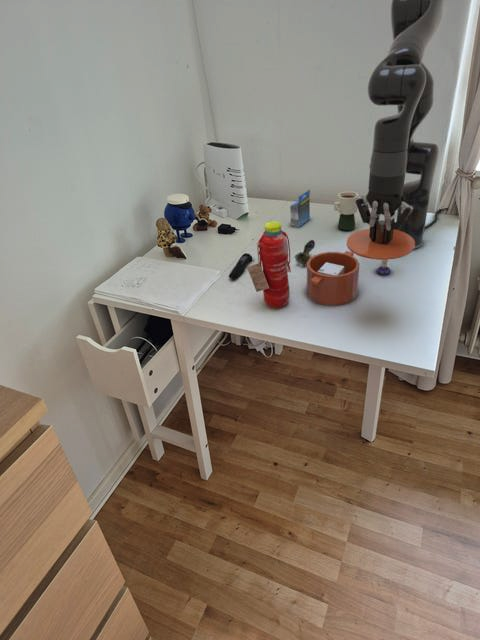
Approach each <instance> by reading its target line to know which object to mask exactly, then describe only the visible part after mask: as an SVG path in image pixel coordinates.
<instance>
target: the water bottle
mask: <svg viewBox="0 0 480 640" xmlns="http://www.w3.org/2000/svg"><path fill="white" fill-rule="evenodd" d="M256 247H257V249H256V250H257V262H258V263H255V264H252V265H250V266H247V267H246V269H247V272H248V274H249V276H250V279H251V282H252V284H253V287H254V290H255V292H256V293H258V292H261V291H263V300H264V302H265V304H267V306H269V307H270V308H275V309H279V308H282V307H285V306H286V304H287V303H288V301H289V299H290V283H289V275H288V273H291V271H292V270H291V265H290V263H291V247H290V239H289V236H288V234H287V233H286V231H284V230H282V224H281V222H279V221H277V220H273V221H268V222H266V223H265V224H264V231H263V233H262V234H261V237H260V238H259V239H258V241H257V243H256Z"/></svg>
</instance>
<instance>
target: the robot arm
mask: <svg viewBox="0 0 480 640" xmlns="http://www.w3.org/2000/svg"><path fill="white" fill-rule="evenodd" d="M444 2H445V1H444V0H391V4H390V5H391V6H390V24H391V34H392V40H393V41H392V43H391V45H390V48H389V50H388V53H387V55H386V56H385V57H384V58H383V59H382V60H381V61H380V62H379V63H378V64H377V65H376V67H375V68H374V69H373V71H372V73H371V75H370V77H369V80H368V83H367V84H368V85H367V96H368V99H369V100H370V102H371V103H372V104H373V105H376V106H379V107H380V106H386V107H387V106H396V107H397V113H396V114H393V115H389V116H384V117H382V118H379V119H378V120H376V122H375V124H374V129H373V130H374V131H373V143H372V152H371V155H370V164H369V177H368V187H367V189H368V192H367V193H366V195H365V196H364V195H361V196H359V197H360V198H358V199H357V200H356V205H357V211H358V212H359V216H360V218H361V221H362V223H363V224H367V225H368V226H369V228H370V233H369V237H370V238H371V241H375V233H376V222H377V221H380V217H381V215H382V216H383V217H384V218H383V220H384V221H385V222H386V230H385V234H384V244H388V243H389V242H390V241H391V240H392V239H393V232H394V229H395V230H399V231H402V232H404V233H406V234H408V235H410V236H411V237H412V238H413V239H414V241H415V248H414V250H416V249H419V248H420V247H423V246H422V245H423V239H424V232H425V230H426V229H428V228H430V227H431V226H433V225H434V224H435V223H436V222H437V220H438V216H439V213H441V211H443V210H445V209H446V208H444V209H440V208H439V209H438V210H437V211H436V212H435V214H434V219H433V220H432V221H431V222H430V223H429V224H427V225H426V221H427V217H428V209H429V203H430V198H431V192H432V188H433V183H434V177H435V172H436V168H437V163H438V159H439V151H440V150H439V146H438V144H437V143H433V142H421V141H414V134H415V132H416V131H417V130H418V128H419V127H420V125H421V124H422V123H423V121H424V120H425V119H426V117H427V116H428V115H429V114H430V112H431V110H432V108H433V105H434V92H435V91H434V90H435V89H434V87H435V86H434V85H435V84H434V82H435V80H434V78H433V75H432V73H431V71H430V70H429V69H428V67H427V66H426V64H425V63H424V62H423V58H424V55H425V51H426V48H427V46H428V45H429V43H430V42H431V41H432V39H433V37H434V35H435V34H436V32H437V30H438V28H439V26H440V24H441V21H442V18H443V12H444ZM406 174H409V175H417V176H418V175H419V176H420V178H419V179H416V180H412V181H408V182H405V180H406ZM370 209H371V211H370Z"/></svg>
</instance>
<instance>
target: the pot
mask: <svg viewBox="0 0 480 640" xmlns="http://www.w3.org/2000/svg"><path fill="white" fill-rule="evenodd" d="M314 255H315V256H314ZM314 255H313V257H312V256H310V257H311V258H310V259H309V260H308V262H307V264H306V294H307V296H308V297H309V299H311V301H313V302H315V303H317V304H319V305H320V304H321V305H325V306H340V305H342V306H343V305H345V304H348V303H350V302H352V301H353V300H355V298H356V297H357V296H358V291H359V290H358V289H359V277H360V275H359V274H360V266H361V265H360V262H359V260H358V259H357V258H356V257H355V256H354V255H355V254H354V253H353V252H351V251H350V250H349V251H348V250H346V251H344V252H340V251H326V252H320V253H317V254H314ZM326 262H327V263H331V264H336V265H341V266H345V273H344V274H342V275H325V274H320V273H318V270H319V269H320V268H321V267H322V266H323V265H324V264H325V263H326Z"/></svg>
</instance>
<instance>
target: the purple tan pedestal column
mask: <svg viewBox="0 0 480 640" xmlns="http://www.w3.org/2000/svg"><path fill="white" fill-rule="evenodd" d="M388 262H389V260H381V264H380V266H378V267H377V268H376V270H375V272H376V274H377V275H379V276H383V277H384V276H389V275H390V274H391V269H390V267H388Z"/></svg>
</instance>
